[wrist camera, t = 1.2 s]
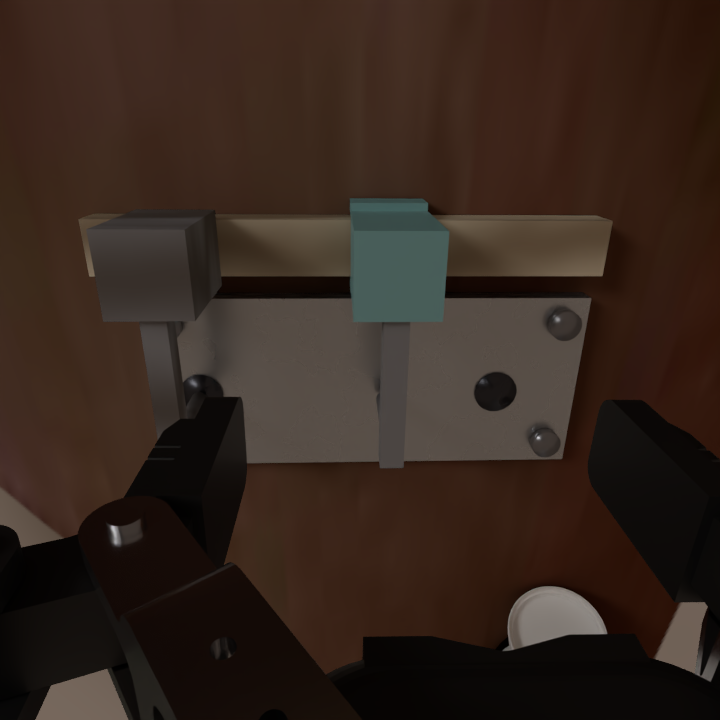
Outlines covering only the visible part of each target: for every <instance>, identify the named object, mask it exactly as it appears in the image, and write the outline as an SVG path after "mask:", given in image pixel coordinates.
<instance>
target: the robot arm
mask: <svg viewBox="0 0 720 720" xmlns="http://www.w3.org/2000/svg"><path fill="white" fill-rule="evenodd" d="M719 460H720V459H719V458H717V457H716V456H715V455H714V454H713V453H712V452H710V451H706V447H705V446H703V445H702V444H701V443H700V442H699V441H698V440H697V439H695V438H694V437H693V436H692V435H691V434H689V433H687V432H685V431H684V430H682V429H680V428H678V427H676V426H674V425H672V424H670V423H668V422H667V421H666V420H665V419H664V418H662V417H661V416H660V415H659V414H658V413H657V412H656V411H654V410H653V409H652V408H651V407H650V406H649V405H648V404H647V403H645V402H644V401H642V400H606V401H604V402H603V403H602V405H601V407H600V410H599V414H598V418H597V423H596V427H595V432H594V436H593V441H592V445H591V450H590V455H589V459H588V474H589V479H590V482H591V485H592V487H593V488H594V490H595V491H596V493H597V494H598V496H599V497H600V498H601V500H602V501H603V503H604V504H605V505H606V507H607V508H608V510H609V511H610V512H611V514H612V515H613V517H614V518H615V519H616V521H617V522H618V524H619V525H620V526H621V528H622V529H623V531H624V532H625V533H626V535H627V536H628V538H629V539H630V540H631V542H632V543H633V545H634V546H635V548H636V549H637V550H638V552H639V553H640V555H641V556H642V557H643V559H644V560H645V562H646V563H647V564H648V566H649V567H650V569H651V570H652V571H653V573H654V574H655V576H656V577H657V578H658V580H659V581H660V583H661V584H662V585H663V587H664V588H665V590H666V591H667V592H668V594H669V595H670V597H671V598H672V599H673V601H674V602H705V603H706V605H707V606H708V608H707V611H706V613H705V616H704V619H703V622H702V628H701V635H700V641H699V648H698V655H697V662H696V669H695V674H694V673H692V672H690V671H687V670H685V669H682V668H680V667H677V666H675V665H672V664H669V663H665V662H662V661H659V660H656V659H651V658H649V657H648V656H647V654H646V652H645V651H644V649H643V647H642V646H641V644H640V642H639V640H638V639H637V637H636V635H635V634H572V635H565V636H562V637H558V638H554V639H551V640H547V641H543V642H540V643H536V644H532V645H529V646H525V647H522V648H518V649H514V650H510V651H500V650H494V649H490V648H485V647H480V646H475V645H471V644H466V643H461V642H456V641H452V640H447V639H442V638H437V637H433V636H399V637H363V657H362V660H361V661H358V662H354V663H350V664H348V665H345V666H343V667H340V668H338V669H336V670H334V671H332V672H330V673H328V674H325V673H324V672H323V670H322V669H321V668H320V667H319V666H318V664H317V663H316V662H315V661H314V659H313V658H312V657H311V656H310V654H309V653H308V652H307V651H306V649H305V648H304V647H303V646H302V645H301V643H300V642H299V641H298V640H297V638H296V637H295V636H294V635H293V633H292V632H291V631H290V630H289V628H288V627H287V626H286V625H285V623H284V622H283V621H282V620H281V619H280V617H279V616H278V615H277V614H276V612H275V611H274V610H273V609H272V607H271V606H270V605H269V604H268V602H267V601H266V600H265V599H264V598H263V596H262V595H261V594H260V593H259V591H258V590H257V589H256V588H255V586H254V585H253V584H252V583H251V581H250V580H249V579H248V578H247V577H246V575H245V574H244V573H243V572H242V570H241V569H240V568H239V567H238V566H237V565H235V564H234V563H231V562H229V563H227V564H225V565H224V562H225V559H226V555H227V551H228V547H229V544H230V540H231V536H232V533H233V529H234V525H235V521H236V518H237V514H238V510H239V507H240V503H241V499H242V495H243V492H244V488H245V483H246V474H247V453H246V438H245V423H244V408H243V401H242V398H241V397H206V398H205V399H204V401H203V403H202V405H201V407H200V409H199V411H198V413H197V415H196V417H195V419H179V420H178V421H177V422H175V423H174V424H172V425H171V426H170V427H168V428H167V429H165V430H164V431H163V432H162V434H161V436H160V437H159V439H158V441H157V443H156V444H155V448H153V449H152V451H151V453H150V454H149V456H148V460H146V461H145V463H144V464H143V466H142V468H141V469H140V471H139V473H138V475H137V476H136V478H135V480H134V481H133V483H132V485H131V486H130V488H129V490H128V491H127V493H126V495H125V496H124V498H121V499H118V500H115V501H112V502H110V503H107V504H105V505H103V506H101V507H99V508H98V509H96V510H95V511H93V512H92V513H91V514H90V515H89V516H87V518H86V519H85V520H84V521H83V522H82V524H81V526H80V528H79V531H78V534H77V535H74V536H71V537H68V538H64V539H59V540H55V541H50V542H46V543H41V544H36V545H32V546H27V547H22V548H21V545H20V542H19V538H18V535H17V533H16V532H15V531H14V530H13V529H11V528H9V527H7V526H4V525H0V720H35V719H36V717H37V715H38V713H39V710H40V708H41V706H42V704H43V701H44V699H45V697H46V695H47V693H48V691H49V689H50V686H51V685H53V684H57V683H61V682H64V681H67V680H71V679H74V678H77V677H80V676H84V675H87V674H90V673H94V672H97V671H101V670H104V669H108V672H109V674H110V676H111V679H112V681H113V684H114V686H115V688H116V691H117V693H118V696H119V698H120V700H121V703H122V705H123V708H124V710H125V712H126V715H127V717H128V720H720V461H719Z"/></svg>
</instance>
